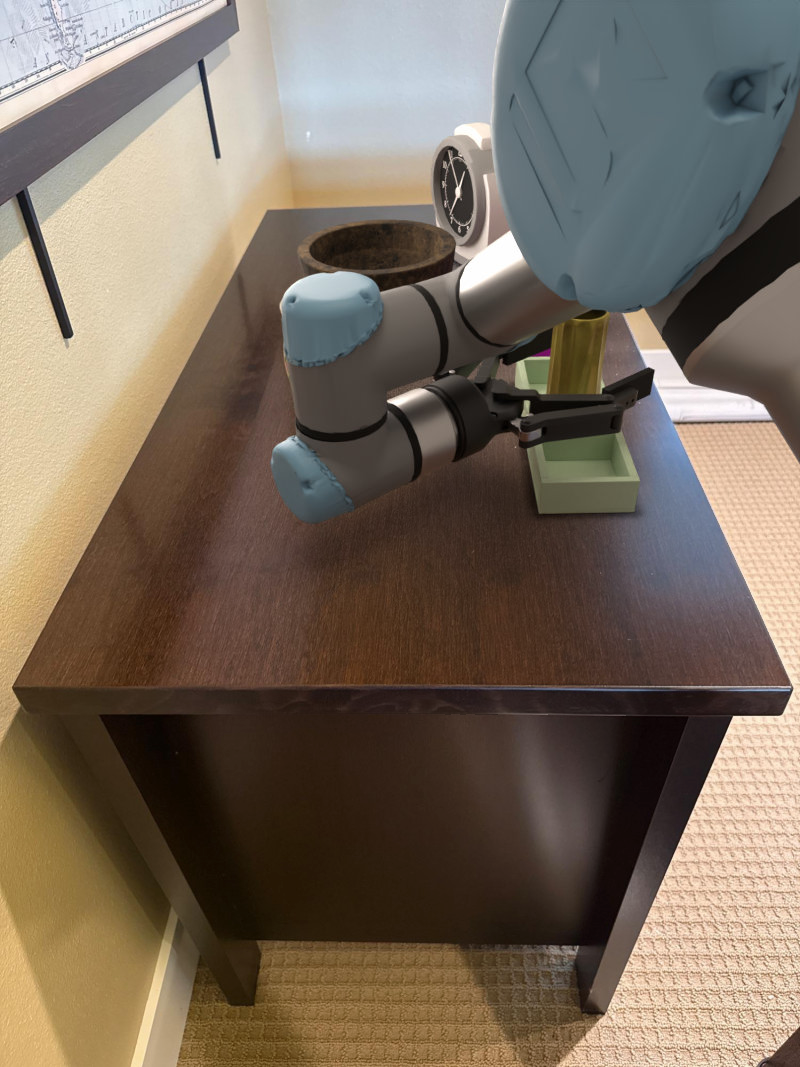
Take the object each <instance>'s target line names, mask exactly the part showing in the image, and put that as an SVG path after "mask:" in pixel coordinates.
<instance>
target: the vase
mask: <svg viewBox="0 0 800 1067" xmlns="http://www.w3.org/2000/svg"><path fill="white" fill-rule="evenodd" d="M610 316H611V312H607V311H605V310H593V309H592V310H590V311H588V312H586V313H584V314H581V315H579V316H577V317H575V318H572V319H570V320H568V321H566V322H564V323H561V324H559V325H557V326H555V327H553V334H552V344H551V354H550V364H549V372H548V381H547V390H546V394H600V392H601V380H603V367H604V361H605V360H604V359H605V353H606V345H607V338H608V332H609V324H610V319H611V318H610Z"/></svg>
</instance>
